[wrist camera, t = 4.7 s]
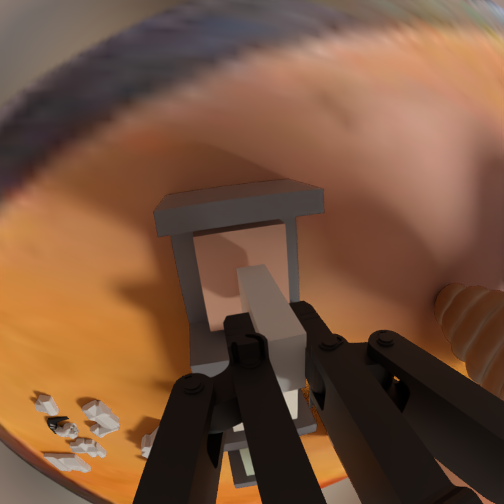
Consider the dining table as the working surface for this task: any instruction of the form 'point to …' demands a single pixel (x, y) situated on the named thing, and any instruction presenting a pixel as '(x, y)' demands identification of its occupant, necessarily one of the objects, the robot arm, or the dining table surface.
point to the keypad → (181, 231)
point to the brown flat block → (238, 263)
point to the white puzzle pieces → (104, 426)
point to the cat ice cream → (475, 331)
